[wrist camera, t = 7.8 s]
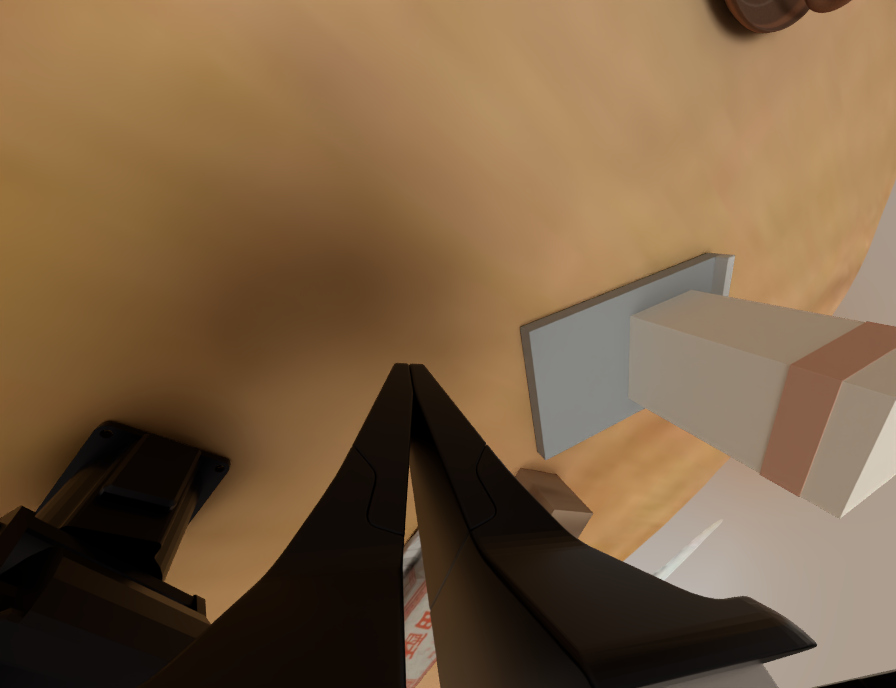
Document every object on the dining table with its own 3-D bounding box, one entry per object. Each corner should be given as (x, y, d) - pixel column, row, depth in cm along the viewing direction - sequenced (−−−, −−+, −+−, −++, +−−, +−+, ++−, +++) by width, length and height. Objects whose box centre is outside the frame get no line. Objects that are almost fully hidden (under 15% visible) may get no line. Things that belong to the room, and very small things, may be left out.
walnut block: (532, 513, 33) (565, 557, 29) (495, 510, 31) (525, 558, 27) (555, 473, 32) (593, 513, 28) (519, 467, 30) (554, 509, 26)
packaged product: (420, 709, 30) (322, 716, 25) (407, 648, 34) (321, 644, 29) (540, 561, 28) (462, 538, 24) (512, 517, 33) (440, 490, 28)
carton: (627, 398, 30) (838, 519, 18) (629, 315, 27) (897, 397, 14) (682, 370, 32) (909, 464, 20) (691, 289, 28) (977, 341, 16)
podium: (537, 452, 30) (552, 467, 28) (519, 327, 24) (537, 336, 22) (692, 372, 35) (714, 381, 33) (707, 252, 29) (735, 255, 27)
